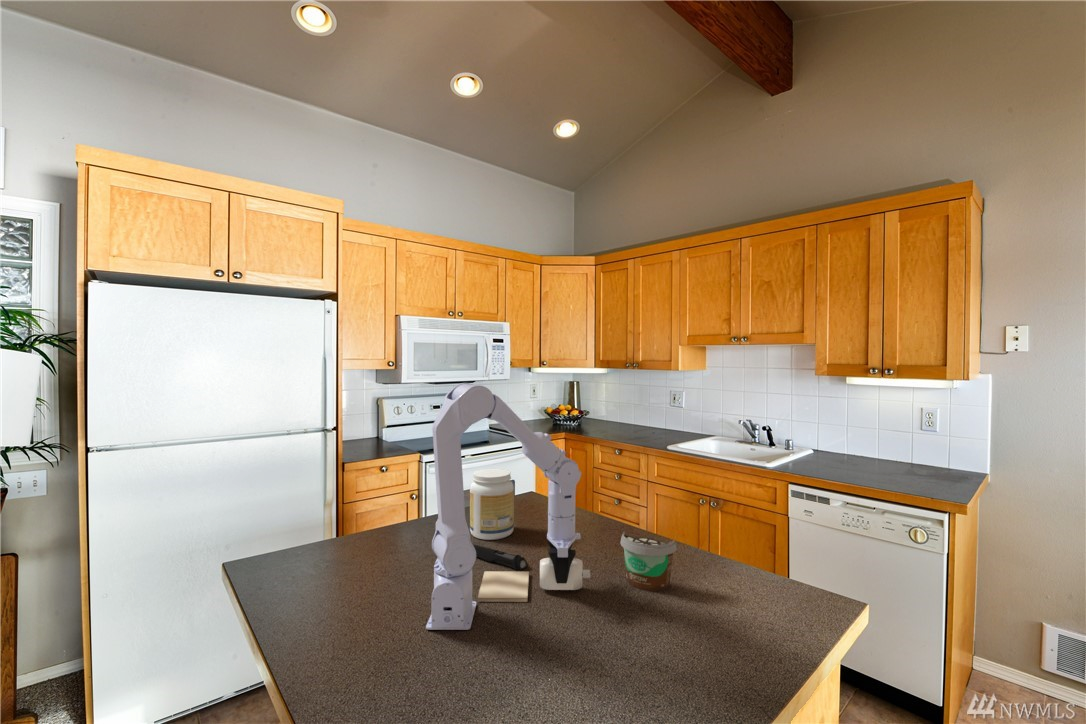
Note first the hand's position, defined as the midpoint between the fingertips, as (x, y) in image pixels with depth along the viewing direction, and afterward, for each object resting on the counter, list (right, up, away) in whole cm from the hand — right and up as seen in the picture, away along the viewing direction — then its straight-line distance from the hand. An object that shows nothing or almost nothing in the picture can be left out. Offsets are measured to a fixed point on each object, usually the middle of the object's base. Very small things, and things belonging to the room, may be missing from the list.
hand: (561, 577), depth 103 cm
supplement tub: (-18, -2, +33) cm, 38 cm away
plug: (0, -2, 0) cm, 2 cm away
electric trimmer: (-14, -3, +14) cm, 20 cm away
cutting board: (-12, -3, +1) cm, 12 cm away
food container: (+18, -3, +2) cm, 18 cm away
